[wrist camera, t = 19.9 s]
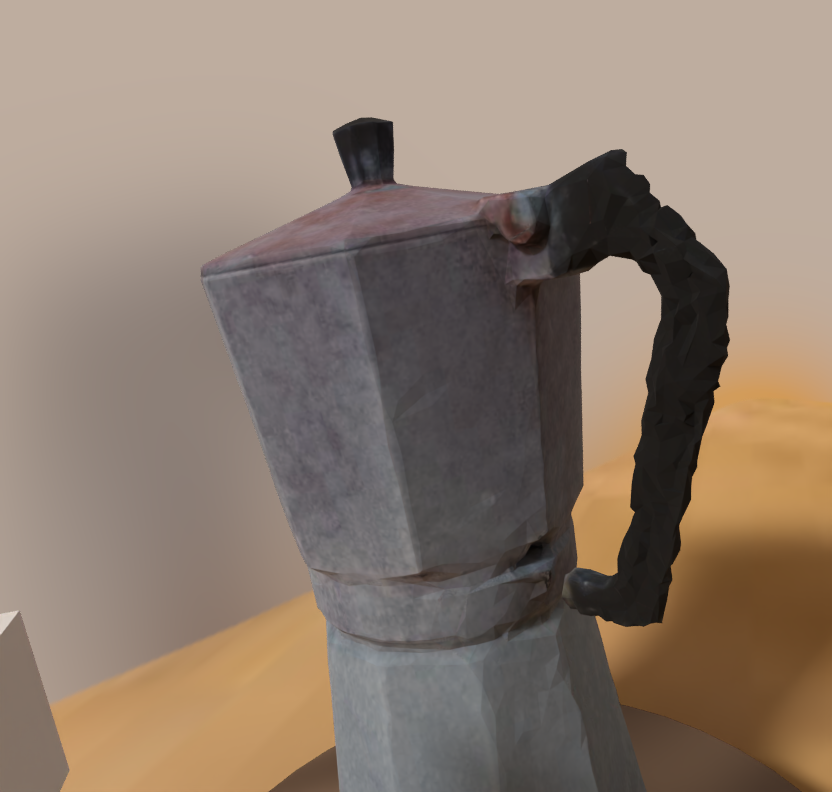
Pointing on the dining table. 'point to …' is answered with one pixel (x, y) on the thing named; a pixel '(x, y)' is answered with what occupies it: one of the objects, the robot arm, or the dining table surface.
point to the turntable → (656, 755)
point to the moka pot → (467, 458)
